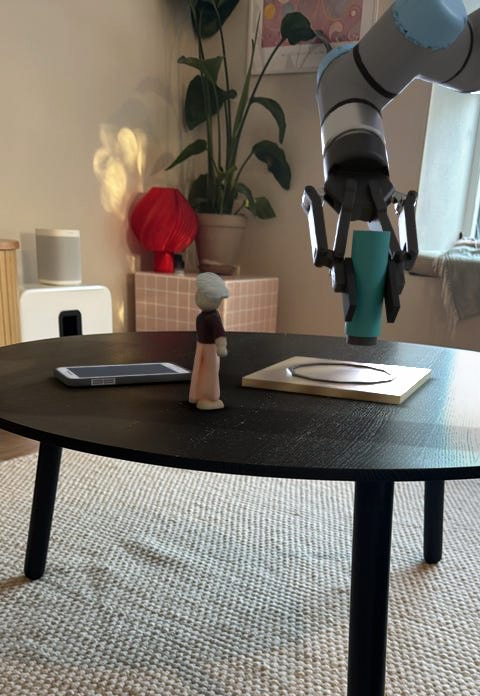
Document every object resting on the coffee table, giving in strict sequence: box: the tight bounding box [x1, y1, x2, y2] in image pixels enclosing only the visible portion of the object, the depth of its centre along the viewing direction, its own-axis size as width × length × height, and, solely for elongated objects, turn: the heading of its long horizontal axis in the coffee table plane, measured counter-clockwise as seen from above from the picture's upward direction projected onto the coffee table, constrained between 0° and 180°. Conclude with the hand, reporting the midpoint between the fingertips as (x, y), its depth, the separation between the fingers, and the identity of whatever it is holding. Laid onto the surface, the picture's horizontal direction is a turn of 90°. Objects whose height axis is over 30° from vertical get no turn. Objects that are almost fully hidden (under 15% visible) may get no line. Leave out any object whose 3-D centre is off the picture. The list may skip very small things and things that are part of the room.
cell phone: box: [53, 361, 193, 388], centre depth 86 cm, size 8×15×1 cm, turn 116°
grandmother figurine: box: [188, 271, 231, 411], centre depth 73 cm, size 8×4×13 cm, turn 30°
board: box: [241, 355, 432, 406], centre depth 89 cm, size 18×18×1 cm
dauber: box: [344, 229, 391, 347], centre depth 83 cm, size 4×4×12 cm
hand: (372, 314), depth 81 cm, fingers closed on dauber, 4 cm apart
